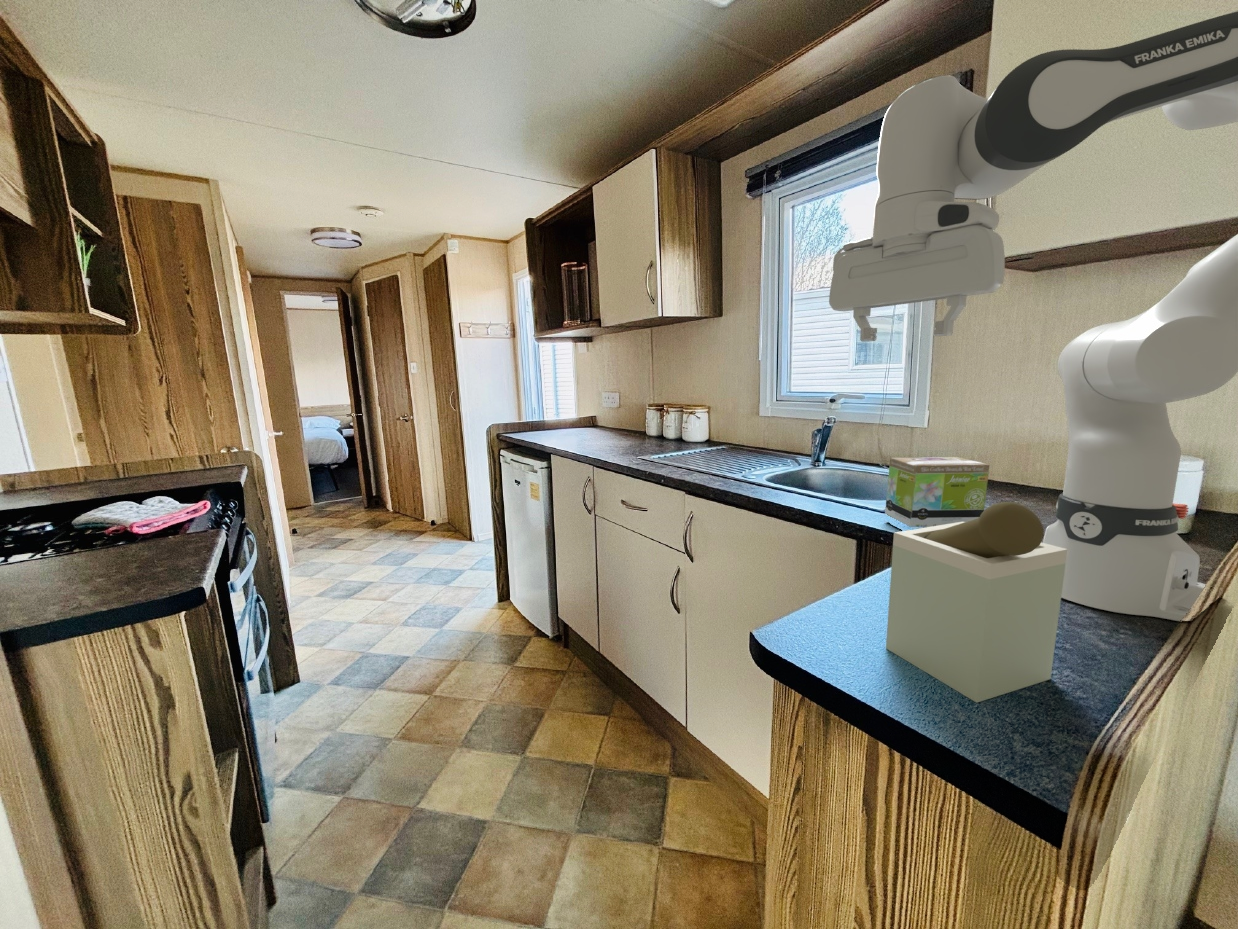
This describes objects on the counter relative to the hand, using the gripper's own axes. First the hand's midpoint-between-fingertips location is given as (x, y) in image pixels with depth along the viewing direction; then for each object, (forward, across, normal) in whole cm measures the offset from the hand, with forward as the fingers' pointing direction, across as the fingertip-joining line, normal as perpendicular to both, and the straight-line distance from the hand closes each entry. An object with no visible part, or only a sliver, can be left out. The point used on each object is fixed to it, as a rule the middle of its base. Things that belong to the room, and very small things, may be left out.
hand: (903, 338), depth 66 cm
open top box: (+37, +13, -10) cm, 40 cm away
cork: (+25, +10, -10) cm, 29 cm away
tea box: (+37, -10, +43) cm, 58 cm away
